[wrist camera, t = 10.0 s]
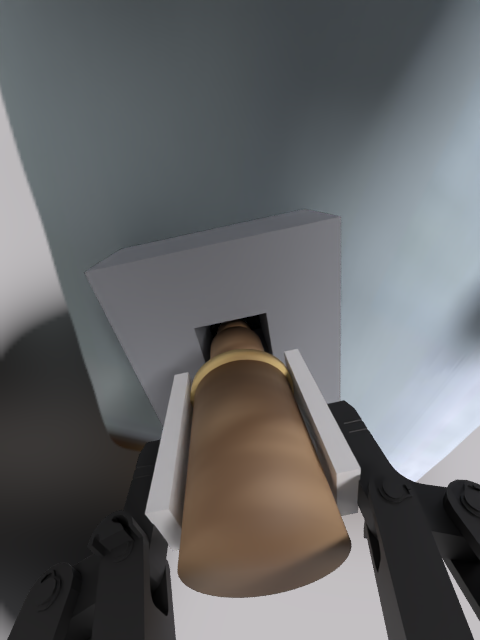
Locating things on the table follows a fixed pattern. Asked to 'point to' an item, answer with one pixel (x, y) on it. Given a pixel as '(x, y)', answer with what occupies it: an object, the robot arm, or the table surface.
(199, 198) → the table surface
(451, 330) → the table surface
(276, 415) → the walnut peg
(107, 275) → the socket block
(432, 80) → the table surface
